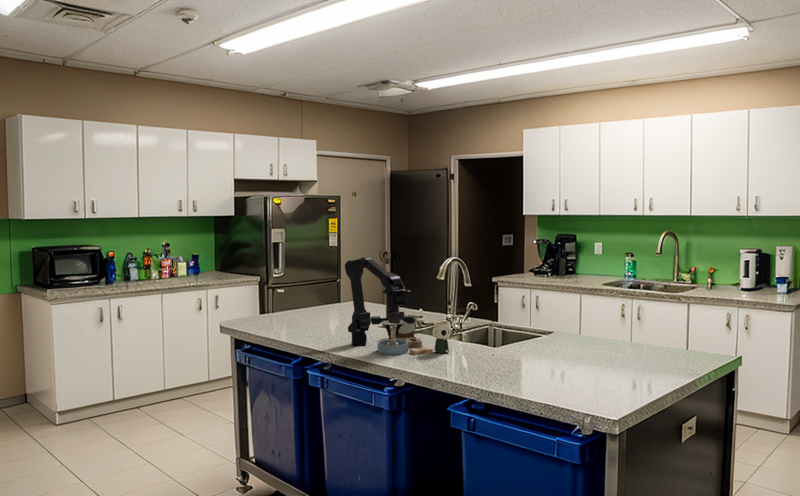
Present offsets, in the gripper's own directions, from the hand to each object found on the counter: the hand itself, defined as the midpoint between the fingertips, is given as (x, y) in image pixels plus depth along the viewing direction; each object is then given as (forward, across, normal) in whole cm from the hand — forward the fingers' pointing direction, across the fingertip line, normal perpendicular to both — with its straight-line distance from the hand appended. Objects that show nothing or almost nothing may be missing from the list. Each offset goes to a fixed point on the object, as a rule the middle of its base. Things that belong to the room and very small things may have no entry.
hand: (392, 339), depth 268 cm
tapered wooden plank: (+6, +12, -4) cm, 14 cm away
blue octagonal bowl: (+6, 0, 0) cm, 6 cm away
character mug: (+6, +21, -5) cm, 22 cm away
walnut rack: (+6, +11, +11) cm, 16 cm away
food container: (+6, +10, +31) cm, 33 cm away
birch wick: (+4, 0, 0) cm, 4 cm away
